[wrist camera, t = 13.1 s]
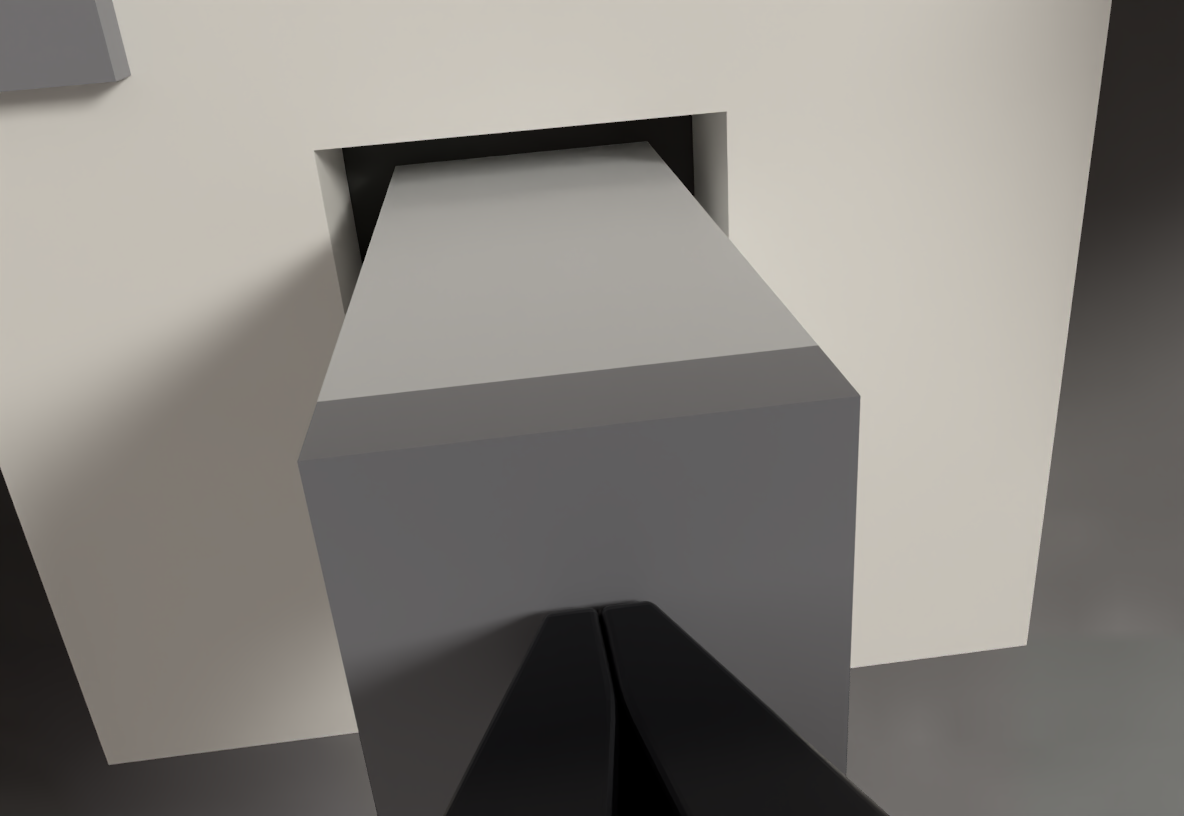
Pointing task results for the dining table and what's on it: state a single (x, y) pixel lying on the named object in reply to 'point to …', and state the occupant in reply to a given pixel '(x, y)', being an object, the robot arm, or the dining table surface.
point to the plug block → (571, 453)
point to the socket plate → (333, 263)
